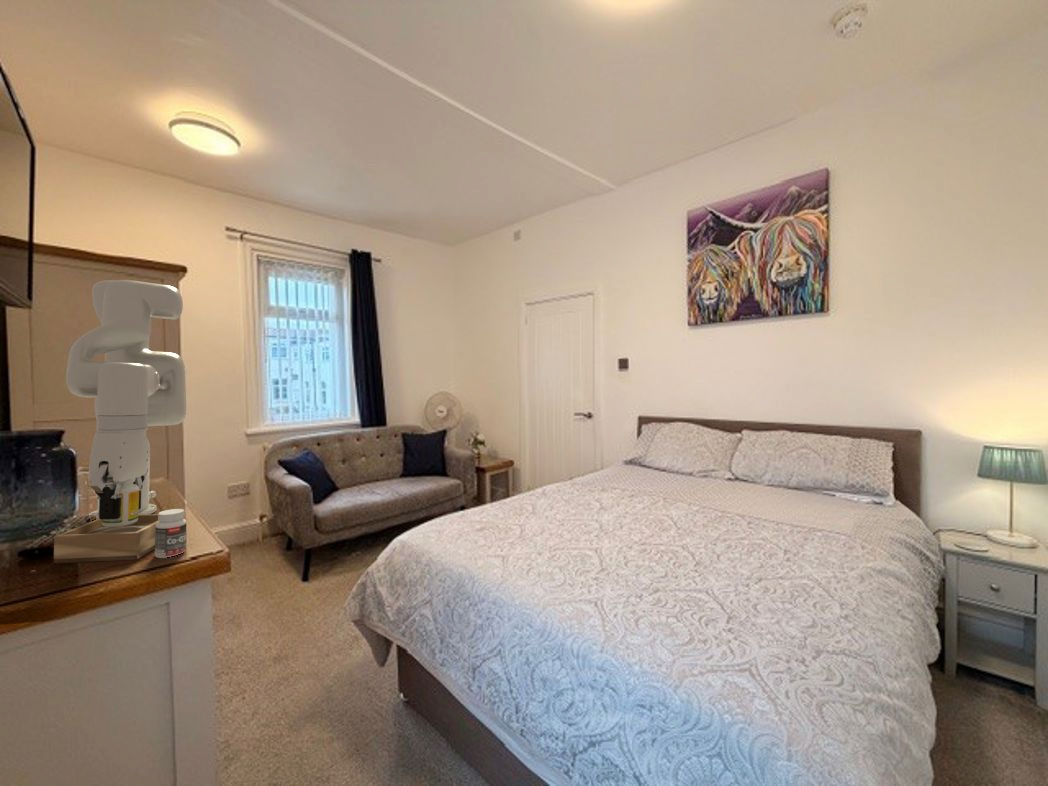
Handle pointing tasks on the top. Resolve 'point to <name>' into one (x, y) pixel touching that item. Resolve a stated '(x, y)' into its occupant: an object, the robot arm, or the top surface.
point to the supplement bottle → (126, 504)
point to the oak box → (106, 541)
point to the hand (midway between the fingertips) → (120, 513)
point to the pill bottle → (170, 533)
